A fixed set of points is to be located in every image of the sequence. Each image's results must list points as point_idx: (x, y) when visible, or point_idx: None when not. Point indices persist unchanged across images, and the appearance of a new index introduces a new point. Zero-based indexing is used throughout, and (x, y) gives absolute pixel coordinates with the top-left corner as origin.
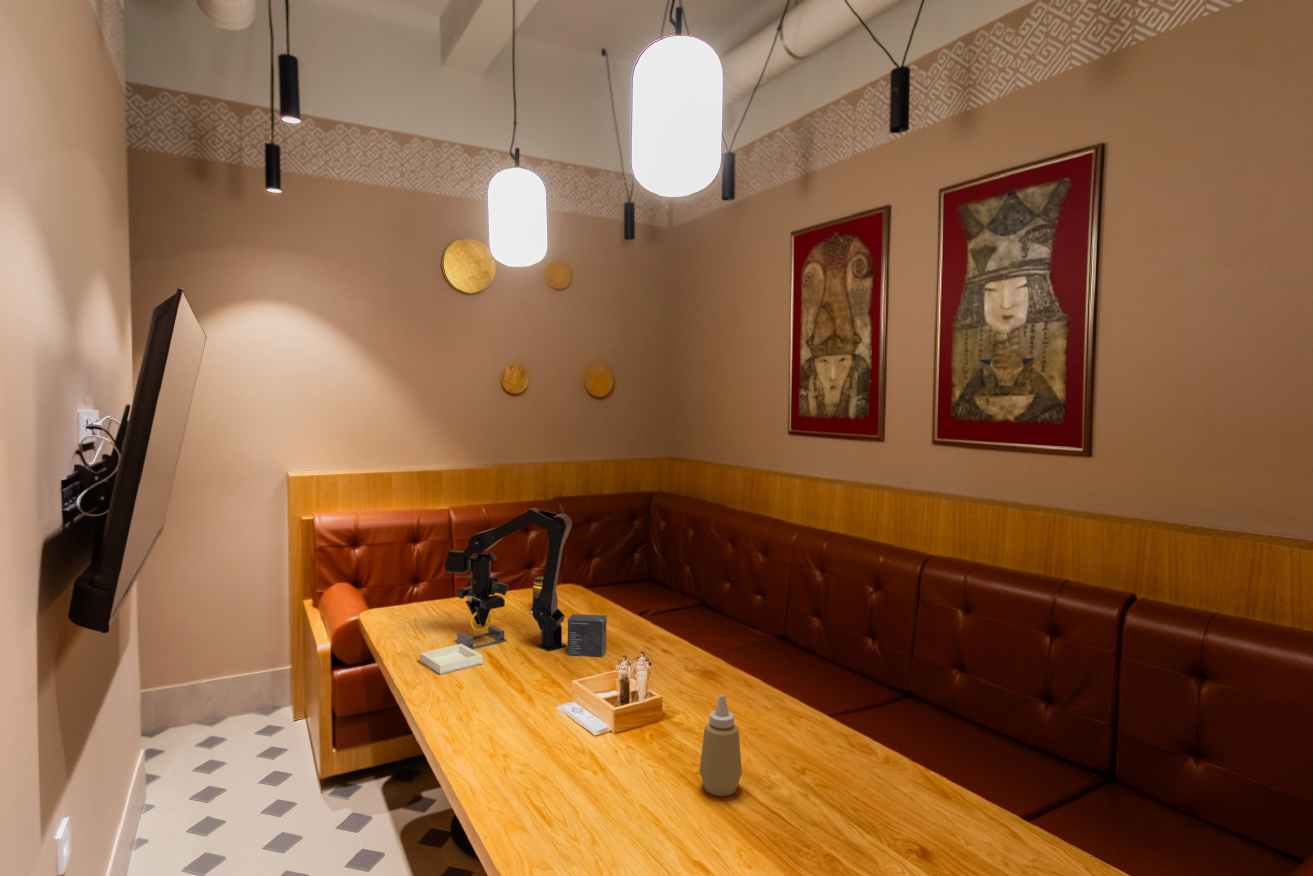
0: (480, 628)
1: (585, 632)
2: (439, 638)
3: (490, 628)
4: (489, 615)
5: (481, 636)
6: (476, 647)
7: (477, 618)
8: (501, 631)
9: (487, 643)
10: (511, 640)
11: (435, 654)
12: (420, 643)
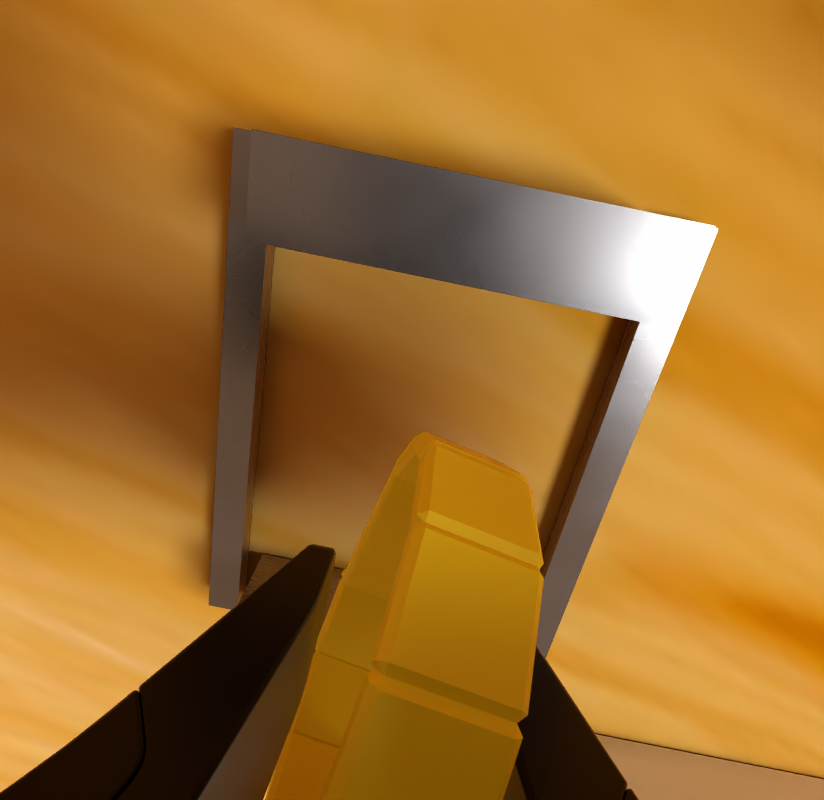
0: (394, 544)
1: None
2: (21, 605)
3: (334, 254)
4: (535, 639)
5: (268, 319)
6: (559, 607)
7: (288, 703)
8: (688, 292)
9: (596, 496)
10: (744, 134)
11: None
12: (59, 745)
